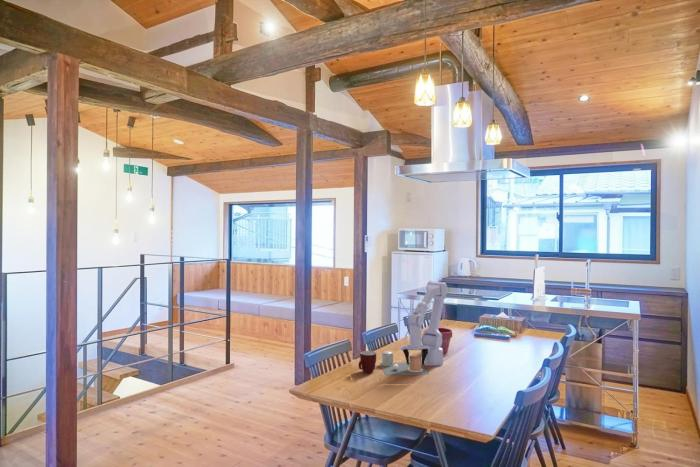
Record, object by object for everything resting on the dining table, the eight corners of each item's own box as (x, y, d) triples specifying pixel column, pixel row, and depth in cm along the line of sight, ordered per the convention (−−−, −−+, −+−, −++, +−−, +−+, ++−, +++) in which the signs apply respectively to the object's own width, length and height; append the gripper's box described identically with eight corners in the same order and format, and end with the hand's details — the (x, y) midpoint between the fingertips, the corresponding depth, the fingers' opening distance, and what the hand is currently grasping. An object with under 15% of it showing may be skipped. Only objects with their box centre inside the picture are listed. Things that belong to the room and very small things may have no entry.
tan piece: (419, 367, 232) (419, 354, 232) (421, 370, 226) (421, 357, 226) (408, 367, 232) (408, 354, 232) (410, 371, 226) (410, 358, 226)
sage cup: (391, 363, 240) (391, 351, 240) (393, 366, 235) (393, 353, 235) (381, 363, 240) (381, 351, 240) (382, 366, 234) (382, 354, 234)
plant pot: (450, 348, 273) (450, 327, 273) (453, 355, 259) (453, 332, 259) (426, 347, 274) (426, 326, 274) (428, 354, 260) (428, 332, 260)
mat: (420, 363, 242) (420, 362, 242) (429, 375, 222) (429, 374, 222) (379, 364, 241) (379, 362, 241) (384, 376, 221) (384, 375, 221)
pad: (421, 367, 233) (421, 366, 233) (424, 372, 225) (424, 371, 225) (406, 367, 233) (406, 366, 233) (408, 372, 225) (408, 371, 225)
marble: (398, 369, 230) (398, 363, 230) (399, 370, 227) (399, 364, 227) (392, 369, 230) (392, 363, 230) (393, 371, 227) (393, 365, 227)
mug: (367, 377, 218) (367, 357, 218) (353, 374, 223) (354, 354, 223) (379, 372, 226) (379, 352, 226) (366, 369, 231) (366, 350, 231)
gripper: (402, 339, 225) (402, 366, 225) (431, 339, 225) (431, 366, 226) (400, 336, 232) (400, 362, 232) (428, 336, 233) (428, 362, 233)
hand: (415, 364), depth 229 cm, fingers open, 7 cm apart
